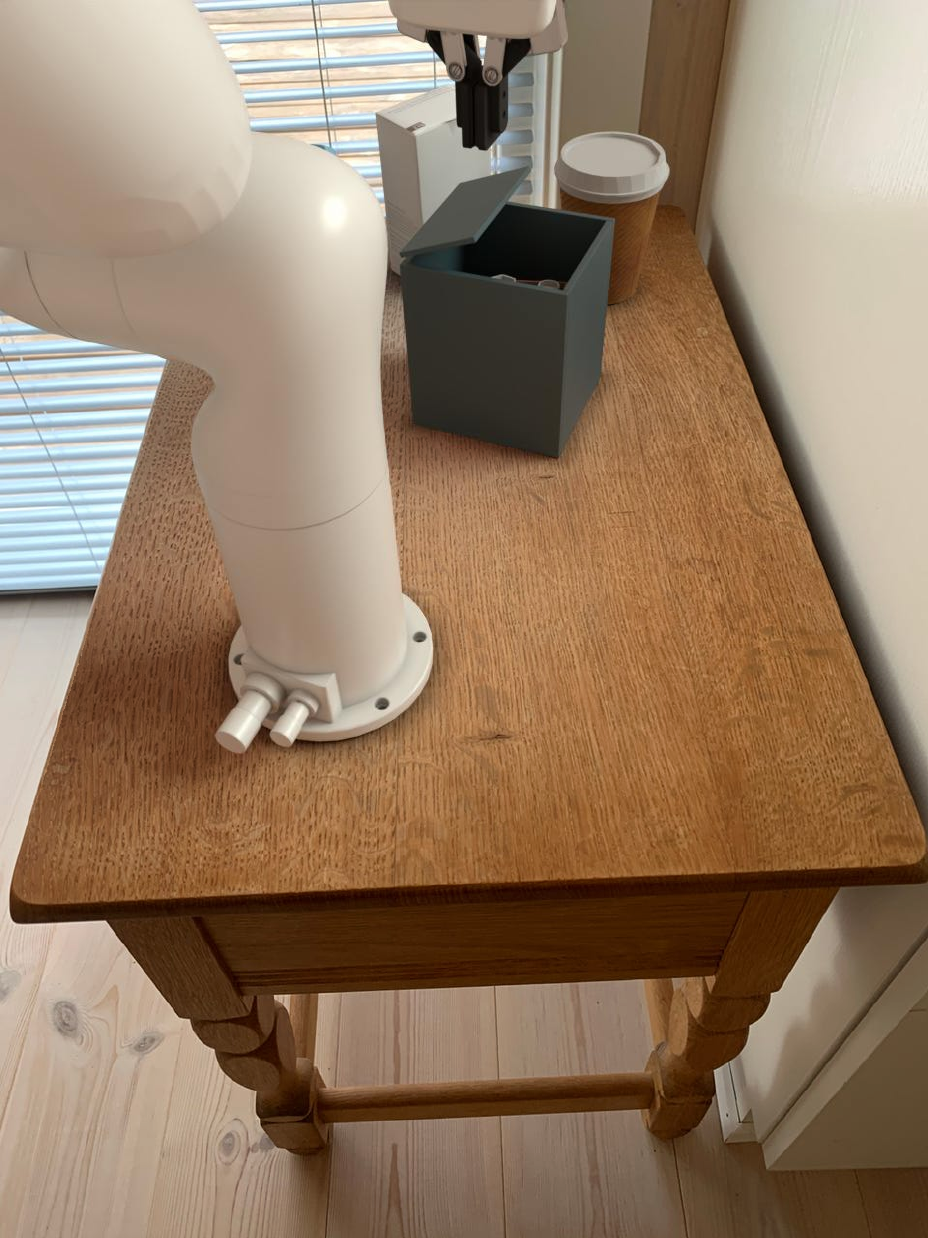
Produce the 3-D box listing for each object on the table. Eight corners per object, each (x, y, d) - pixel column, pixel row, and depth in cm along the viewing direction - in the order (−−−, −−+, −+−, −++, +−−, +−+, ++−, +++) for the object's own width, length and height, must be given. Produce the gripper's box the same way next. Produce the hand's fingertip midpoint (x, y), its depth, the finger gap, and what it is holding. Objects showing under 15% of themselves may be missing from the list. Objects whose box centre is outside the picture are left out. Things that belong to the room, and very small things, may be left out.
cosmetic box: (456, 243, 96) (450, 79, 85) (496, 266, 93) (495, 99, 82) (386, 273, 93) (371, 106, 81) (426, 298, 89) (415, 129, 78)
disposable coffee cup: (645, 321, 86) (661, 184, 77) (538, 307, 88) (543, 172, 79) (661, 266, 92) (679, 134, 83) (561, 255, 94) (568, 124, 85)
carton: (412, 424, 77) (399, 264, 67) (465, 349, 84) (460, 193, 74) (558, 458, 74) (567, 295, 64) (600, 377, 81) (615, 217, 71)
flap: (401, 258, 67) (398, 252, 66) (461, 187, 73) (459, 182, 73) (475, 242, 64) (473, 236, 63) (531, 170, 70) (529, 165, 70)
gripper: (314, -215, 50) (355, 149, 64) (595, -203, 47) (574, 182, 60) (377, -241, 55) (402, 104, 69) (637, -233, 51) (609, 132, 65)
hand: (482, 140), depth 65 cm, fingers closed
